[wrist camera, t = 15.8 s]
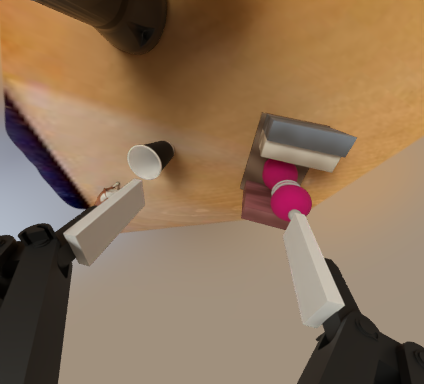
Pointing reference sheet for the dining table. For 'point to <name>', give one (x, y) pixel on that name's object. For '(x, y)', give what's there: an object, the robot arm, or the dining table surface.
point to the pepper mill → (285, 190)
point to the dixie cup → (150, 159)
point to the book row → (287, 159)
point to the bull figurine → (106, 194)
